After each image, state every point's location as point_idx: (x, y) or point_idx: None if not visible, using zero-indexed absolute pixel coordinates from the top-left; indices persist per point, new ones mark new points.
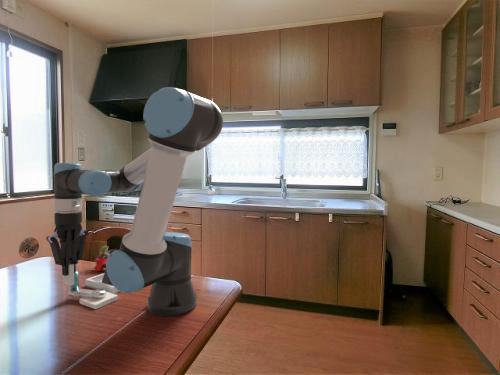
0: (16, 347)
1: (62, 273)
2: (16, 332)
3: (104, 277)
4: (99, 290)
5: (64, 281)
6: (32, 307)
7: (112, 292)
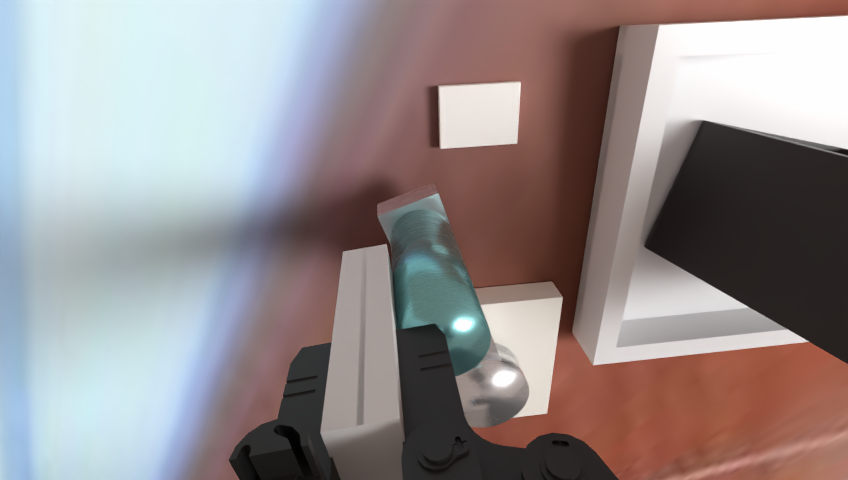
0: (25, 469)
1: (292, 373)
2: (23, 364)
3: (739, 161)
4: (498, 389)
5: (342, 270)
6: (140, 102)
7: (578, 338)
